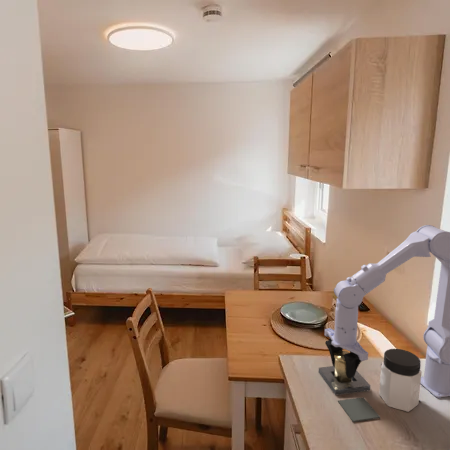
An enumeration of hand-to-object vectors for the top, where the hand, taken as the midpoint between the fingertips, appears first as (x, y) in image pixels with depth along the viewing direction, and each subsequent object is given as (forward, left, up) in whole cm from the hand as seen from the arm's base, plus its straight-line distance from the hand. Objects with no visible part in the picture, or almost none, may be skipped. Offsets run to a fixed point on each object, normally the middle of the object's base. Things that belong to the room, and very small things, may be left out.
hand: (343, 370), depth 94 cm
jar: (-10, +9, -3) cm, 14 cm away
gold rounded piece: (0, 0, -2) cm, 2 cm away
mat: (+2, +11, -3) cm, 12 cm away
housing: (0, 0, -3) cm, 3 cm away
